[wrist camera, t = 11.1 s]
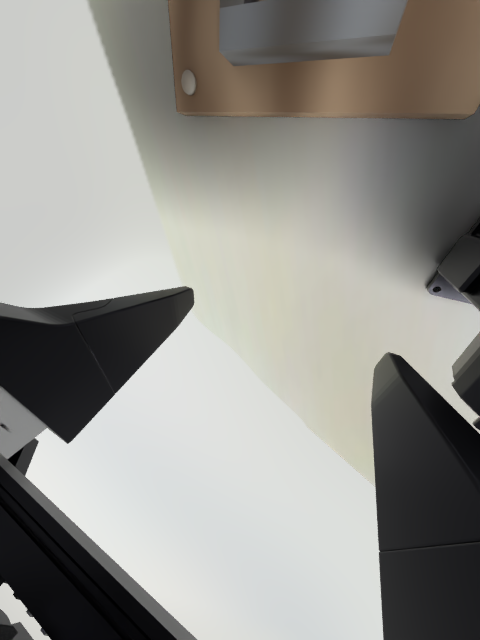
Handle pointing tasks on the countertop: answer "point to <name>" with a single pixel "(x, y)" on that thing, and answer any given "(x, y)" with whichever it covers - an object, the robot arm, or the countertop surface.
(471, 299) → the robot arm
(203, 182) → the countertop surface
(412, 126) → the countertop surface
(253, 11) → the chassis board
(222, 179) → the countertop surface
